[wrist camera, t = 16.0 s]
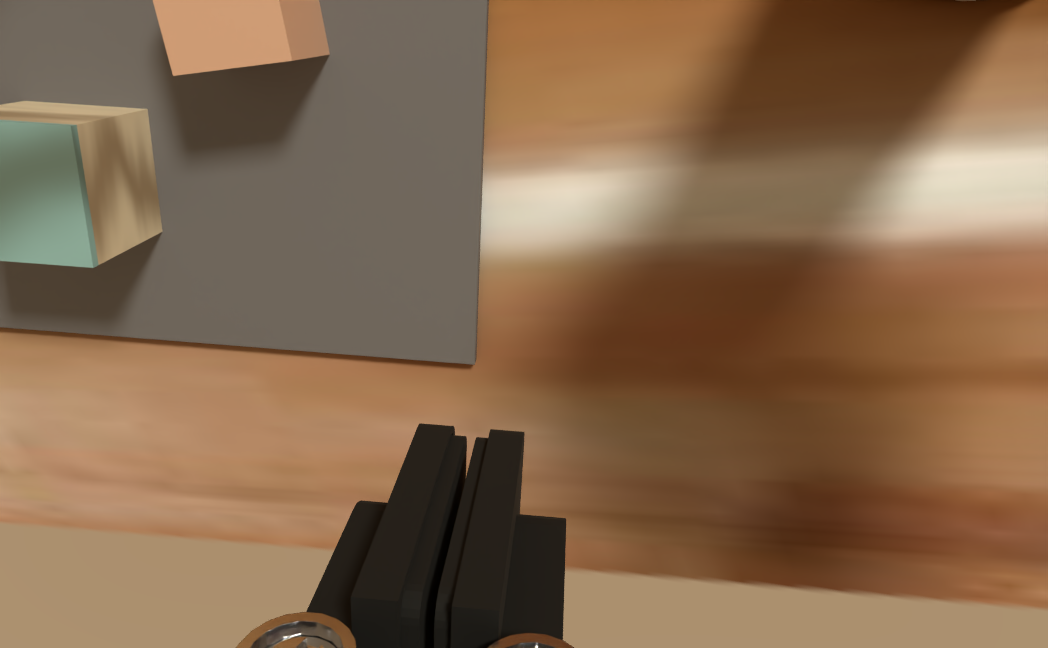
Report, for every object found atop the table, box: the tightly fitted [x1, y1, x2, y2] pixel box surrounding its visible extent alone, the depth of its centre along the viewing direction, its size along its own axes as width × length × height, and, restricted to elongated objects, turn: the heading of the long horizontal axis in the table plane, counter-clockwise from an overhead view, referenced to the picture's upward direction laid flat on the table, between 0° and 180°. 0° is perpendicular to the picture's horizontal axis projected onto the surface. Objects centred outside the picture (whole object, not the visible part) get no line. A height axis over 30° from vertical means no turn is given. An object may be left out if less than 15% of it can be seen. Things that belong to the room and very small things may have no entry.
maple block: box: [0, 101, 162, 268], centre depth 35 cm, size 6×6×6 cm
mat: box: [0, 0, 489, 365], centre depth 38 cm, size 18×28×1 cm, turn 87°
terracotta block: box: [153, 0, 330, 76], centre depth 33 cm, size 5×5×5 cm
